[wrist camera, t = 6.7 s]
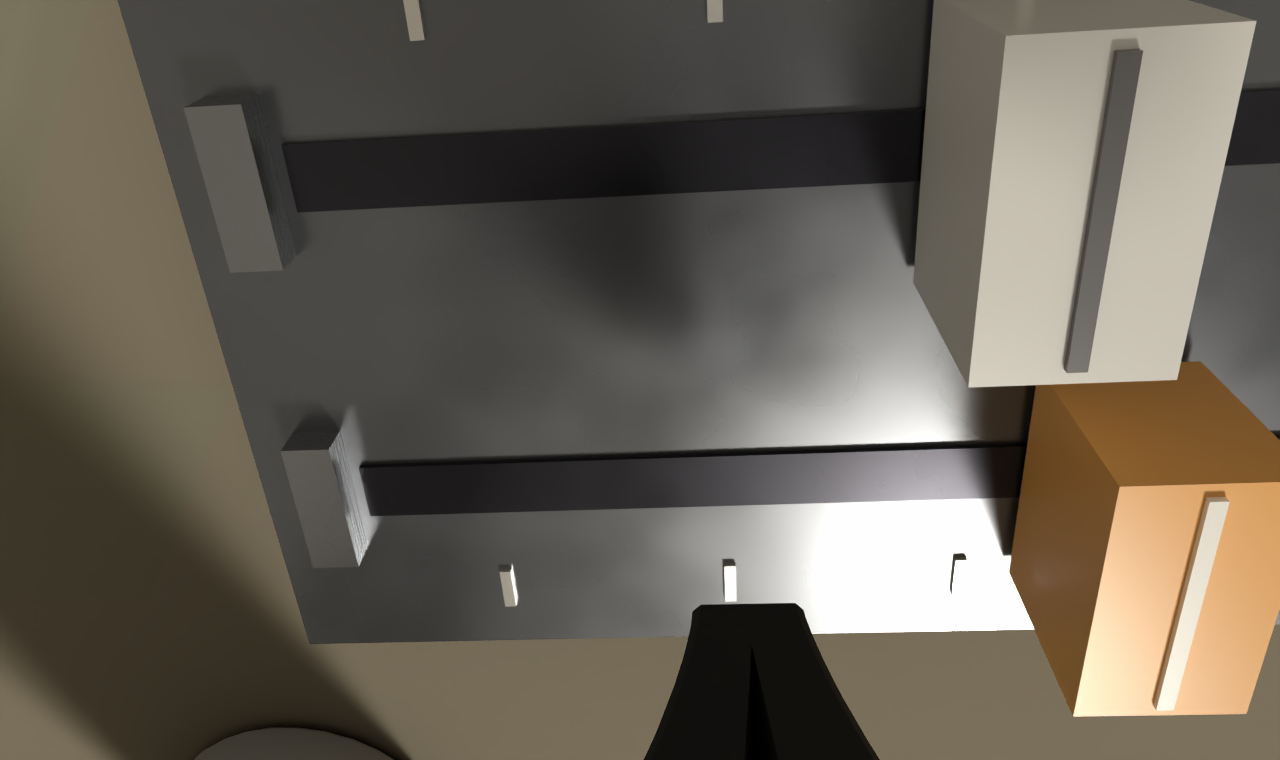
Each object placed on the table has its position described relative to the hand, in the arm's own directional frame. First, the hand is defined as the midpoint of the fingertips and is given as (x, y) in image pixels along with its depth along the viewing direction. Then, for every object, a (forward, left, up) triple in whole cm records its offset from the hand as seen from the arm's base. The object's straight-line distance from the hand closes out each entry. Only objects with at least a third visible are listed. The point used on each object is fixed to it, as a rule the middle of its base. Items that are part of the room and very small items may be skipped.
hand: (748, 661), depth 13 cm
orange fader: (-6, 0, -4) cm, 7 cm away
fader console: (-2, -3, -6) cm, 7 cm away
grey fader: (-4, -6, -4) cm, 8 cm away
